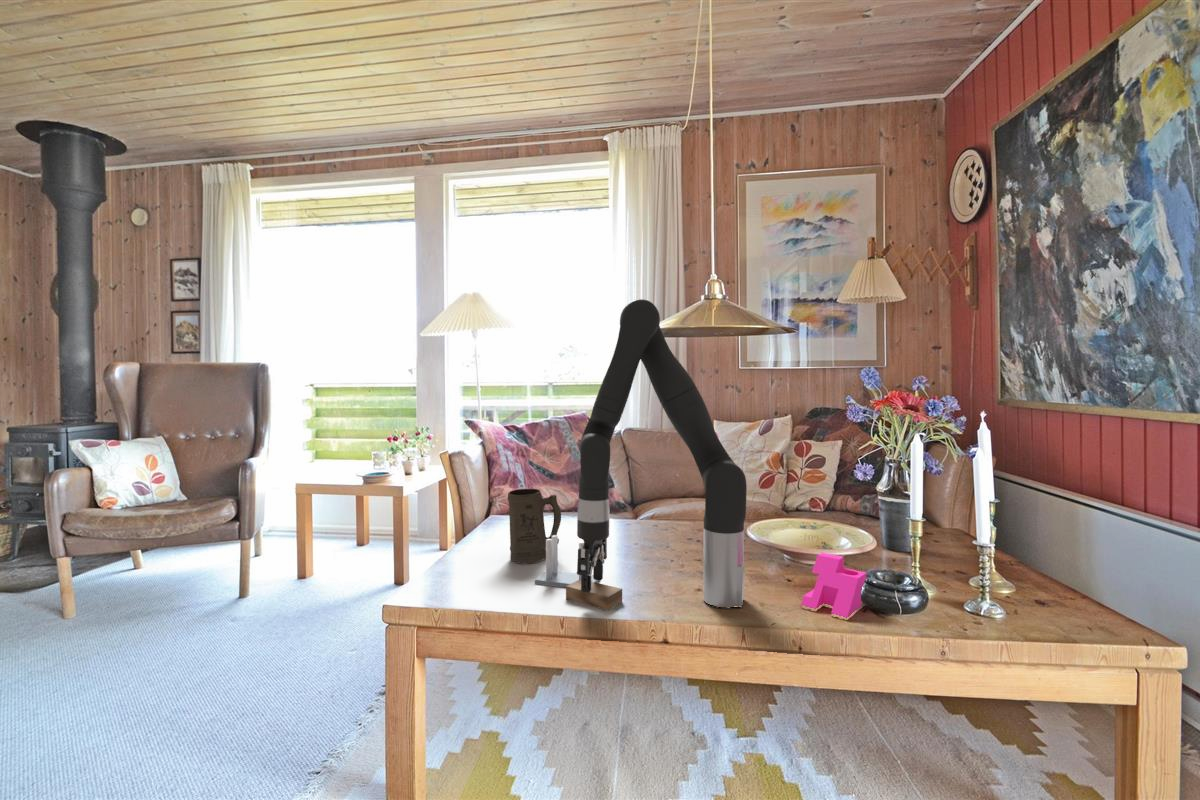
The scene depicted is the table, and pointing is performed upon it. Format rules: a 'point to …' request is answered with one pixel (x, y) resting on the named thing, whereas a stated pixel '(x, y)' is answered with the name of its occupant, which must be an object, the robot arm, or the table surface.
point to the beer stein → (530, 524)
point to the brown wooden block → (595, 595)
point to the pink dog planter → (835, 586)
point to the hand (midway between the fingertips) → (592, 585)
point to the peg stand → (552, 573)
